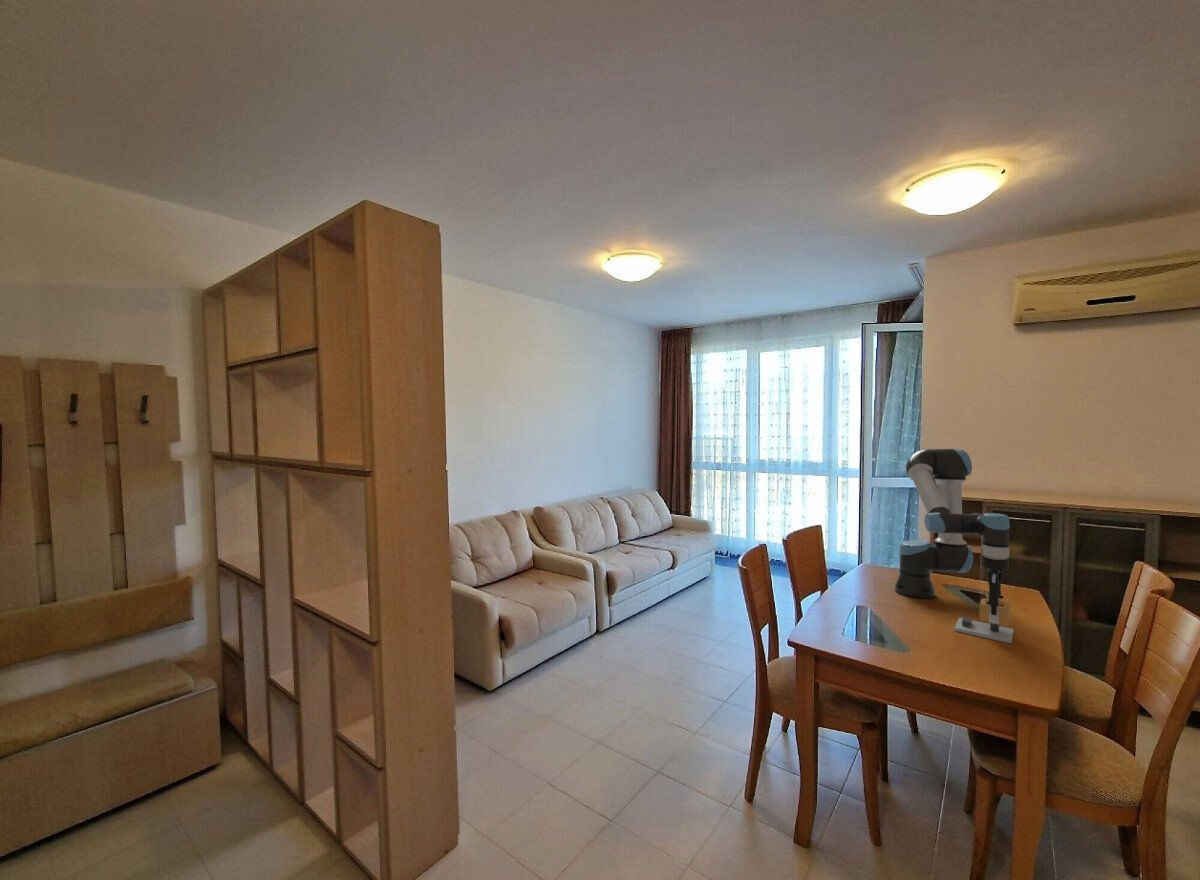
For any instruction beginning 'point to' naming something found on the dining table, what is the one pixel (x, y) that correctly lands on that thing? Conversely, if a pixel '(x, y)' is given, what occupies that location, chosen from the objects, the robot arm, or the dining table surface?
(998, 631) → the keeper board
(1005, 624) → the link
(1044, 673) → the dining table surface
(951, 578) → the dining table surface
